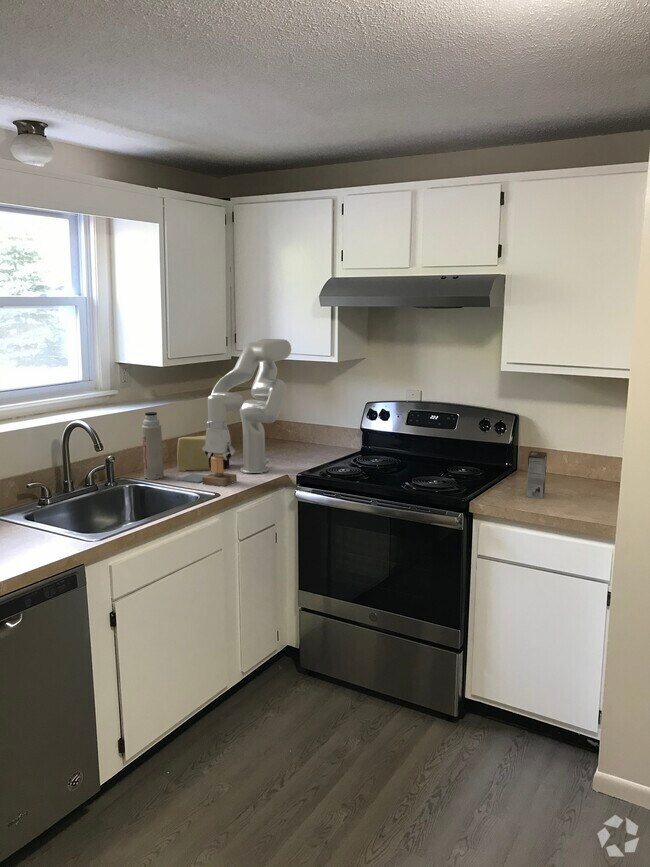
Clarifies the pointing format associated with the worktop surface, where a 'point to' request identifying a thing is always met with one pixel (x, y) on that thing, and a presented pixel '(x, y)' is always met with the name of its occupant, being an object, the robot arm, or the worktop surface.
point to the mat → (192, 478)
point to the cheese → (192, 454)
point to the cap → (217, 464)
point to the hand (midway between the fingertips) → (219, 467)
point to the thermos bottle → (152, 447)
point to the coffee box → (536, 474)
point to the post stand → (219, 479)
